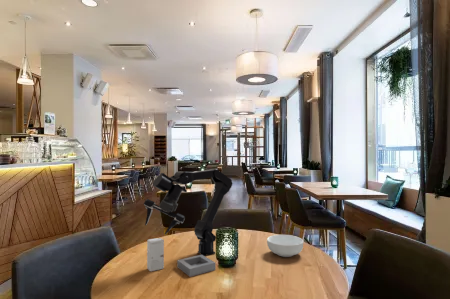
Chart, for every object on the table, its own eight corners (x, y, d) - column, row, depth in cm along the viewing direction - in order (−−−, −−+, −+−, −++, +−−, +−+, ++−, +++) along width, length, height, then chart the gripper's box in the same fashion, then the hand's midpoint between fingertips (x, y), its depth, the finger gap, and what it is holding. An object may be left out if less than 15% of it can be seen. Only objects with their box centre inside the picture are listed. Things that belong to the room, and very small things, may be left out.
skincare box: (150, 272, 118) (150, 242, 118) (146, 268, 121) (146, 239, 122) (164, 268, 121) (164, 239, 121) (160, 265, 125) (160, 237, 125)
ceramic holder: (201, 261, 129) (201, 254, 129) (215, 269, 119) (215, 262, 119) (177, 267, 122) (177, 260, 122) (189, 276, 112) (189, 269, 112)
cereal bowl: (263, 257, 132) (263, 242, 132) (271, 247, 148) (271, 233, 148) (301, 262, 126) (300, 246, 126) (305, 250, 141) (305, 236, 142)
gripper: (151, 184, 121) (132, 218, 115) (191, 203, 121) (174, 238, 115) (153, 189, 131) (136, 221, 126) (190, 206, 131) (175, 239, 126)
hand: (155, 229), depth 123 cm, fingers open, 9 cm apart
